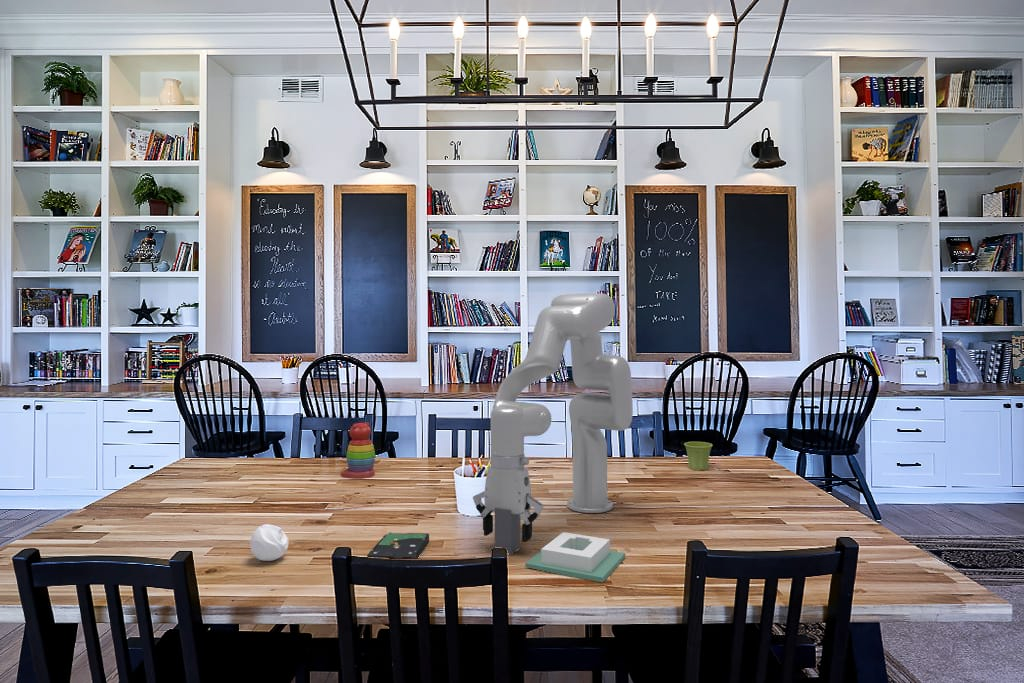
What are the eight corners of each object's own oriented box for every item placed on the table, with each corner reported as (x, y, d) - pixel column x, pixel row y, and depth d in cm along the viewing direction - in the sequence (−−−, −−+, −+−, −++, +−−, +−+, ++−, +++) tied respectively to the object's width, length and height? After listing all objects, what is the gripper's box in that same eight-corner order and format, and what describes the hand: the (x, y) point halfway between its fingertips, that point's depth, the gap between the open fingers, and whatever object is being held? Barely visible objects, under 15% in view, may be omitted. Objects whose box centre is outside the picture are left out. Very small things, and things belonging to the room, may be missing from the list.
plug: (507, 544, 149) (507, 501, 149) (523, 546, 147) (522, 503, 147) (494, 552, 144) (494, 508, 143) (510, 555, 142) (510, 510, 142)
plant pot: (707, 473, 217) (708, 447, 217) (680, 469, 222) (680, 444, 222) (715, 467, 225) (715, 443, 225) (689, 464, 230) (689, 440, 230)
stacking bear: (367, 470, 224) (366, 419, 223) (382, 475, 216) (381, 422, 216) (338, 475, 217) (337, 422, 216) (353, 480, 209) (352, 426, 209)
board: (553, 545, 148) (553, 528, 148) (625, 557, 140) (625, 539, 140) (525, 567, 135) (525, 549, 135) (602, 582, 127) (602, 562, 127)
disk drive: (414, 569, 136) (429, 544, 151) (414, 556, 136) (429, 532, 151) (366, 567, 137) (386, 542, 152) (366, 554, 137) (386, 531, 152)
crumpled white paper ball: (282, 566, 136) (281, 530, 136) (245, 567, 136) (244, 531, 136) (292, 552, 144) (291, 518, 144) (257, 553, 144) (256, 519, 143)
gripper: (549, 462, 144) (549, 538, 144) (482, 455, 152) (482, 527, 152) (535, 468, 137) (535, 548, 138) (465, 461, 145) (465, 536, 145)
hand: (507, 537), depth 145 cm, fingers open, 9 cm apart
